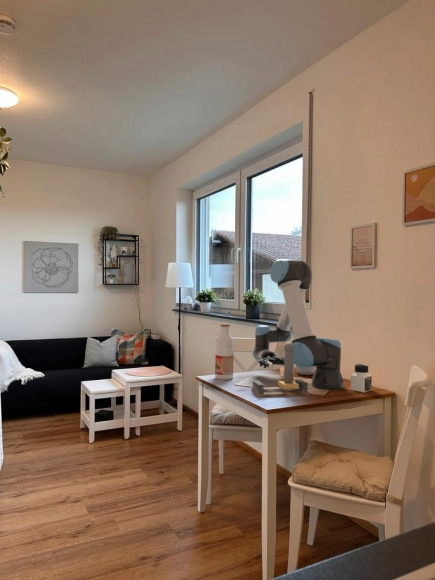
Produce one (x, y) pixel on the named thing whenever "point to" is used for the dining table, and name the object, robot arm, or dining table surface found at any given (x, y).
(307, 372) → the teacup
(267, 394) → the rail board
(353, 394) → the dining table surface
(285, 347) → the post
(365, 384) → the medicine bottle
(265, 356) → the robot arm
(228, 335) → the fruit juice
